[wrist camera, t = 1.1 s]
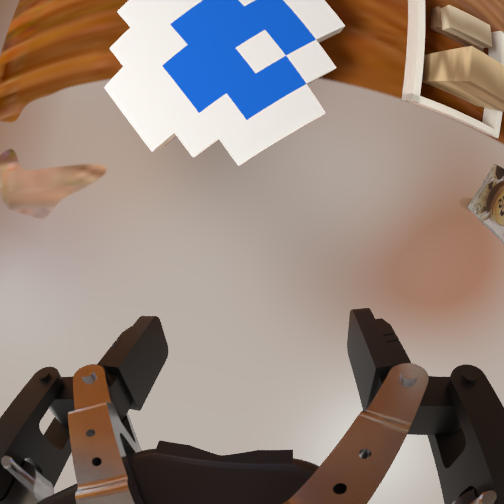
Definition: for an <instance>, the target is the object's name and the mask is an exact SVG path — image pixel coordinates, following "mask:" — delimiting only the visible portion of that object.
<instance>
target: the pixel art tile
mask: <svg viewBox="0 0 504 504" xmlns="http://www.w3.org/2000/svg"><path fill="white" fill-rule="evenodd" d="M117 12H118V14H119V15H120V16H121V17H122V18H123V19H124V21H125V22H126V23H127V24H128V25H129V26H130V28H129V29H128V30H127V31H126V32H125V33H124V34H123V35H122V36H121V37H120V38H119V39H118V40H117V41H116V42H115V43H114V44H113V45H112V46H111V47H110V48H109V49H110V50H111V51H112V53H113V54H114V55H115V56H116V58H117V59H118V60H119V62H120V63H121V64H122V65H123V67H122V69H121V70H120V71H119V72H118V73H117V74H116V75H115V76H114V77H113V78H112V79H111V80H110V81H109V82H108V84H107V85H106V86H105V87H104V88H105V90H106V91H107V92H108V94H109V95H110V96H111V98H112V99H113V100H114V102H115V103H116V105H117V106H118V107H119V109H120V110H121V111H122V113H123V114H124V115H125V117H126V118H127V120H128V121H129V122H130V124H131V125H132V126H133V127H134V129H135V130H136V131H137V133H138V134H139V136H140V137H141V138H142V140H143V141H144V142H145V143H146V145H147V146H148V147H149V148H150V150H151V151H152V152H153V151H155V150H158V149H160V148H162V147H164V146H166V145H167V144H168V143H169V142H170V141H171V140H173V139H174V138H175V137H176V136H177V137H178V138H179V140H180V141H181V143H182V144H183V145H184V147H185V148H186V149H187V150H188V152H189V153H190V154H191V156H192V157H193V158H194V157H195V156H197V155H198V154H200V153H201V152H203V151H204V150H206V149H207V148H208V147H210V146H211V145H213V144H214V143H215V142H217V141H218V140H220V142H221V143H222V144H223V146H224V147H225V148H226V149H227V151H228V152H229V154H230V155H231V157H232V158H233V159H234V161H235V162H236V163H237V164H238V166H239V165H241V164H242V163H244V162H245V161H247V160H249V159H250V158H251V157H253V156H255V155H256V154H258V153H260V152H261V151H263V150H264V149H266V148H267V147H269V146H271V145H272V144H274V143H276V142H277V141H279V140H281V139H282V138H284V137H286V136H287V135H289V134H291V133H293V132H294V131H296V130H298V129H299V128H301V127H303V126H305V125H306V124H308V123H310V122H312V121H313V120H315V119H317V118H319V117H321V116H322V115H324V114H326V113H325V111H324V109H323V108H322V106H321V105H320V103H319V101H318V100H317V98H316V97H315V95H314V94H313V93H312V91H311V89H310V88H309V87H308V85H307V84H309V83H311V82H312V81H314V80H316V79H318V78H320V77H322V76H323V75H325V74H327V73H329V72H331V71H333V70H334V69H336V66H335V65H334V63H333V62H332V60H331V59H330V58H329V56H328V55H327V53H326V52H325V51H324V49H323V48H322V47H321V45H320V44H319V42H321V41H323V40H326V39H328V38H330V37H332V36H334V35H336V34H338V33H340V32H341V31H342V30H343V28H344V27H345V25H344V23H343V22H342V21H341V20H340V18H339V17H338V16H337V14H336V13H335V12H334V11H333V10H332V8H331V7H330V6H329V5H328V4H327V2H326V1H325V0H129V1H128V2H127V3H126V4H124V5H123V6H122V7H121V8H120V9H119V10H118V11H117Z"/></svg>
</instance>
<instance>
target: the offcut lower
mask: <svg viewBox="0 0 504 504" xmlns="http://www.w3.org/2000/svg"><path fill="white" fill-rule="evenodd" d="M431 30H434V31H436V32H438V33H440V34H442V35H444V36H446V37H448V38H450V39H452V40H454V41H456V42H458V43H460V44H462V45H464V46H466V47H468V46H473V47H475V48H476V49H478V50H480V51H482V52H483V51H484V48H481V47H479V46H477V45H475V44H473V43H471V42H469V41H467V40H464V39H462V38H460V37H458V36H456V35H453V34H451V33H448V32H446V31H444V30H442V19H441V7H438V6H437V7H435V8H433V9H431Z"/></svg>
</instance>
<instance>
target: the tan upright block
mask: <svg viewBox="0 0 504 504" xmlns="http://www.w3.org/2000/svg"><path fill="white" fill-rule="evenodd" d="M422 82H423V83H426V84H429V85H431V86H434V87H436V88H439V89H441V90H443V91H446V92H448V93H450V94H453V95H455V96H457V97H459V98H461V99H463V100H465V101H467V102H470V103H472V104H474V105H475V106H479V107H484V108H489V109H493V110H498V111H502V112H504V66H503V65H502V64H501V63H499V62H498V61H496V60H494V59H493V58H491V57H490V56H488V55H487V54H485V53H483V52H482V51H480V50H478V49H476V48H475V47H473V46H468V47H462V48H456V49H451V50H445V51H440V52H436V53H431V54H427V55H424V64H423V75H422Z"/></svg>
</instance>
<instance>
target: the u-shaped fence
mask: <svg viewBox="0 0 504 504" xmlns="http://www.w3.org/2000/svg"><path fill="white" fill-rule="evenodd" d="M491 38H492V47H489V48H488V56H490V57H491V58H493V59H494V60H496V61H498V62H499V63H501V64H502V65H503V66H504V33H503V32H502V31H496V32H491ZM424 50H425V0H408V36H407V53H406V65H405V75H404V84H403V92H402V100H403V101H406V102H409V103H412V104H415V105H418V106H421V107H424V108H426V109H429V110H432V111H434V112H437V113H440V114H442V115H445V116H447V117H450V118H452V119H454V120H457V121H459V122H461V123H464V124H466V125H468V126H470V127H472V128H474V129H476V130H479V131H481V132H483V133H485V134H487V135H490V136H493V137H496V138H499V132H500V126H501V120H502V111H498V110H493V109H489V108H484V113H483V120H482V122H480V121H478V120H476V119H474V118H472V117H470V116H468V115H466V114H463V113H461V112H459V111H457V110H454V109H452V108H450V107H447V106H445V105H443V104H440V103H438V102H435V101H433V100H430V99H427V98H425V97H422V96H420V93H421V84H422V75H423V64H424Z"/></svg>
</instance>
